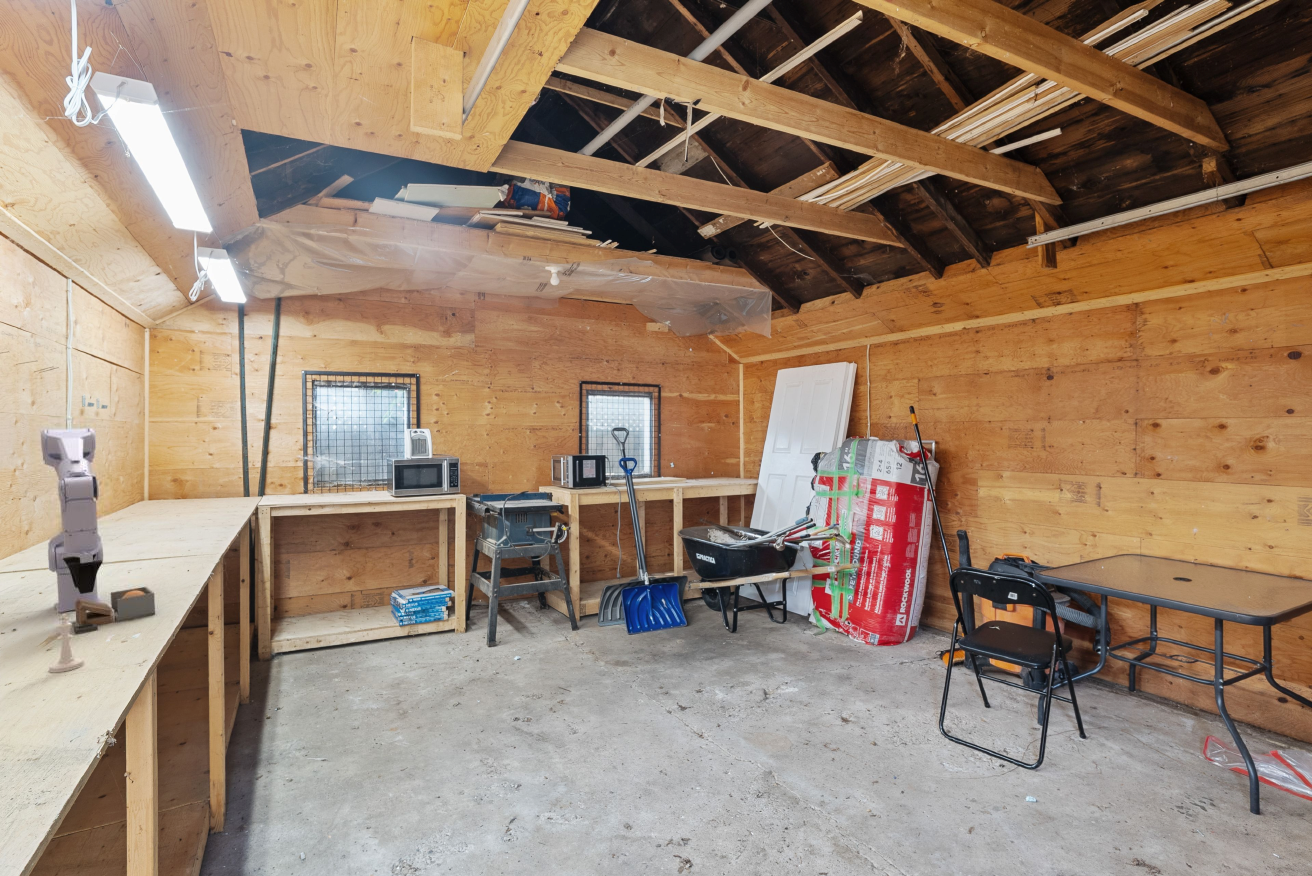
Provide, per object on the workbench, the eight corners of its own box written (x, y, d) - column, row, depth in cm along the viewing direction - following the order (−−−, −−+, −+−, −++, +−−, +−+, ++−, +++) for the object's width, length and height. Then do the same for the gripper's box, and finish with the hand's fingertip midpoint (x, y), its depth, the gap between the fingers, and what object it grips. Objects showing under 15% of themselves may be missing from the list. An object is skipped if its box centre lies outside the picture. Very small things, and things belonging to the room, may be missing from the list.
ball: (136, 584, 154) (113, 599, 151) (140, 588, 151) (117, 603, 148) (150, 599, 156) (128, 614, 153) (154, 603, 153) (132, 618, 150)
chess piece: (62, 673, 117) (59, 619, 117) (41, 671, 118) (38, 617, 118) (91, 662, 122) (88, 610, 122) (70, 661, 123) (67, 609, 122)
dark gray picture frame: (73, 630, 141) (73, 626, 141) (95, 626, 143) (95, 622, 143) (76, 634, 138) (75, 630, 138) (98, 629, 141) (97, 626, 141)
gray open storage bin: (109, 613, 152) (108, 592, 152) (147, 606, 157) (146, 586, 157) (116, 621, 146) (115, 599, 146) (155, 614, 152) (154, 593, 151)
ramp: (76, 620, 147) (74, 598, 147) (108, 614, 152) (107, 593, 152) (81, 628, 142) (79, 605, 142) (114, 621, 146) (113, 599, 146)
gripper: (52, 528, 147) (55, 587, 147) (60, 536, 137) (64, 599, 138) (93, 524, 152) (96, 581, 152) (103, 531, 142) (107, 592, 143)
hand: (83, 589), depth 145 cm, fingers open, 7 cm apart
